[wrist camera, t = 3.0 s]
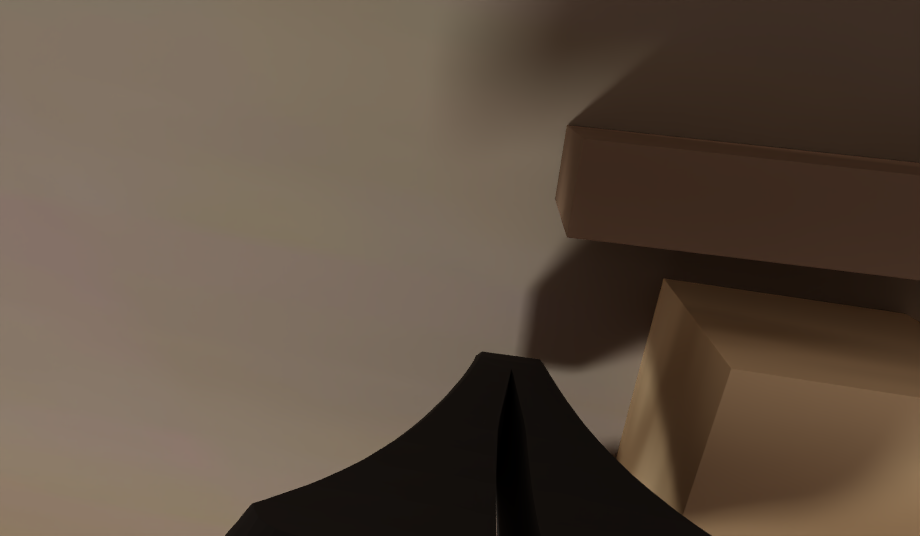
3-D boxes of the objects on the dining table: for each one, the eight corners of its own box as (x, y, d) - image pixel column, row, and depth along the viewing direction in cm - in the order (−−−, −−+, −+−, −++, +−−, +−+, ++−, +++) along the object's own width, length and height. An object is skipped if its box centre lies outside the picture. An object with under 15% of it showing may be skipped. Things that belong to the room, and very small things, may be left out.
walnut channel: (1058, 638, 13) (1203, 788, 10) (499, 546, 14) (494, 660, 11) (1344, 208, 10) (1687, 259, 7) (567, 125, 11) (583, 139, 8)
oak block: (819, 497, 13) (942, 667, 9) (613, 463, 13) (650, 613, 9) (900, 310, 11) (1092, 424, 7) (661, 276, 12) (730, 368, 8)
